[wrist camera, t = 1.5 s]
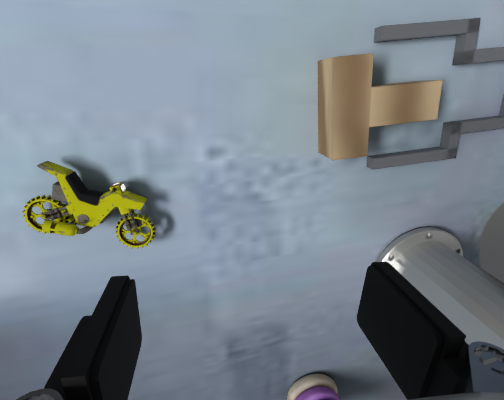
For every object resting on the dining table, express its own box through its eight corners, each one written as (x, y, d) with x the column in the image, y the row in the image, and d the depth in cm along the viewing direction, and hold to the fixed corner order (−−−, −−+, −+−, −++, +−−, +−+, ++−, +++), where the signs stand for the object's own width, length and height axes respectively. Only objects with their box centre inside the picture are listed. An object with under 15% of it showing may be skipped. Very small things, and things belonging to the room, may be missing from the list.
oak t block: (318, 151, 31) (333, 160, 28) (317, 61, 28) (334, 56, 24) (407, 140, 32) (433, 147, 29) (416, 52, 29) (447, 46, 25)
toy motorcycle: (11, 237, 26) (14, 163, 24) (34, 220, 29) (38, 154, 27) (148, 259, 29) (161, 195, 27) (154, 241, 32) (166, 183, 30)
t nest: (366, 166, 33) (372, 169, 32) (374, 28, 28) (381, 25, 27) (500, 148, 35) (510, 150, 34) (531, 15, 30) (544, 12, 28)
